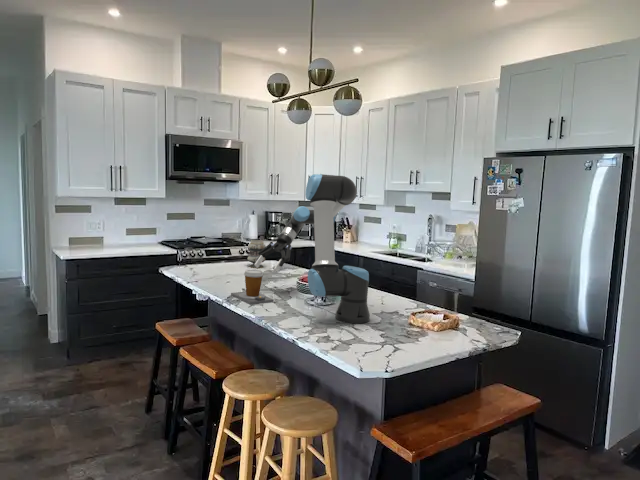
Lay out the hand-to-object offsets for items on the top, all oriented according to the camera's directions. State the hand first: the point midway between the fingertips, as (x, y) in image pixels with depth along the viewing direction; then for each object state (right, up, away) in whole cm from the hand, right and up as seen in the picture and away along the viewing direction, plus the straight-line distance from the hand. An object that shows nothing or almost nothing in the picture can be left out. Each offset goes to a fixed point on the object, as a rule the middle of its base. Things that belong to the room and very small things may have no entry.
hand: (265, 268), depth 245 cm
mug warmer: (-6, -15, -5) cm, 17 cm away
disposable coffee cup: (-6, -13, -6) cm, 15 cm away
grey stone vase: (-16, -4, +82) cm, 84 cm away
